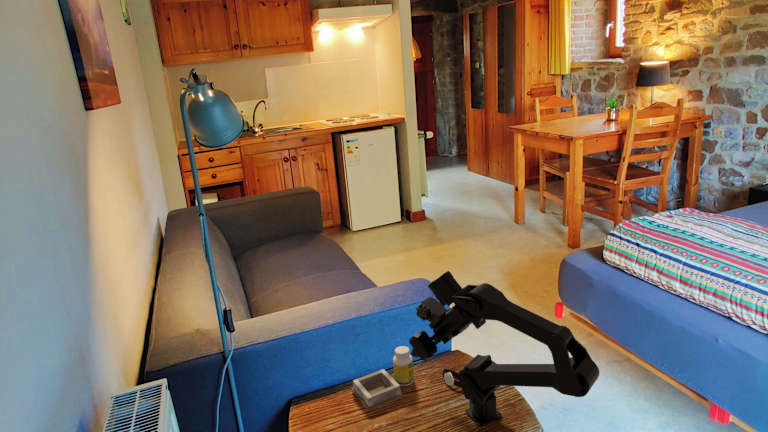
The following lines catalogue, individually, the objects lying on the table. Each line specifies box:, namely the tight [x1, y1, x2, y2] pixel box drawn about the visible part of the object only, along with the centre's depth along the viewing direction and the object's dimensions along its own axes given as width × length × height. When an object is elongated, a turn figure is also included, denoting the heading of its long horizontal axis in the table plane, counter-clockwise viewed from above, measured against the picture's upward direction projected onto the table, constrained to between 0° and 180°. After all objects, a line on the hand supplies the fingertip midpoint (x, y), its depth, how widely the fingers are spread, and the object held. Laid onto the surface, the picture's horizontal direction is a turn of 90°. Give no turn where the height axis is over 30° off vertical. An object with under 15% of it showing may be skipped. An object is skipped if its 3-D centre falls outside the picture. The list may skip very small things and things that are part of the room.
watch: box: [442, 368, 461, 388], centre depth 134 cm, size 8×5×4 cm, turn 33°
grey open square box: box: [351, 368, 404, 412], centre depth 131 cm, size 10×10×4 cm
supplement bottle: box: [392, 345, 415, 387], centre depth 135 cm, size 5×5×10 cm
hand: (423, 346), depth 128 cm, fingers open, 9 cm apart
